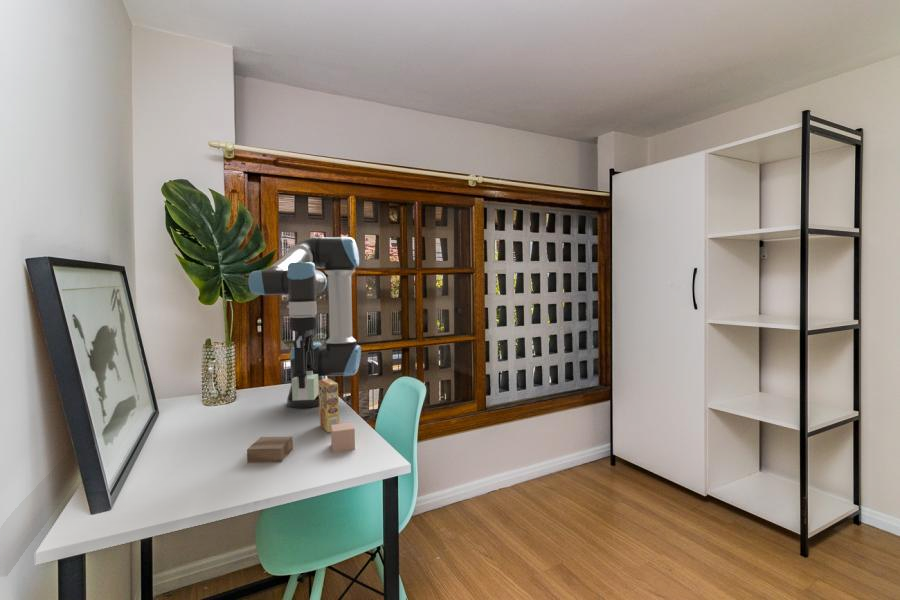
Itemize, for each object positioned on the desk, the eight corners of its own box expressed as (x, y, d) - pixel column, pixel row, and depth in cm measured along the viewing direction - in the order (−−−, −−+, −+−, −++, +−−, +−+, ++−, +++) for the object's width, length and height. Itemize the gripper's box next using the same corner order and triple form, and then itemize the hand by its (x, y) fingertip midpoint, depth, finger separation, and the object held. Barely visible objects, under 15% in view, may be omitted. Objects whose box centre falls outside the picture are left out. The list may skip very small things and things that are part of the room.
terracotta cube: (331, 444, 130) (330, 424, 130) (352, 442, 132) (351, 422, 132) (333, 452, 125) (332, 431, 124) (355, 449, 127) (354, 428, 126)
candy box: (340, 430, 142) (338, 383, 141) (327, 433, 140) (325, 385, 139) (331, 423, 150) (329, 378, 149) (318, 425, 147) (317, 379, 146)
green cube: (297, 394, 131) (297, 374, 131) (318, 394, 132) (318, 374, 131) (292, 400, 125) (291, 379, 125) (314, 399, 126) (313, 378, 125)
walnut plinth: (261, 450, 127) (260, 437, 127) (292, 450, 127) (292, 436, 127) (247, 464, 118) (246, 449, 118) (281, 463, 118) (280, 448, 118)
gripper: (297, 313, 136) (300, 388, 137) (280, 319, 117) (283, 406, 119) (322, 313, 137) (325, 387, 138) (309, 319, 118) (312, 404, 119)
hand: (305, 395), depth 128 cm, fingers closed on green cube, 6 cm apart
